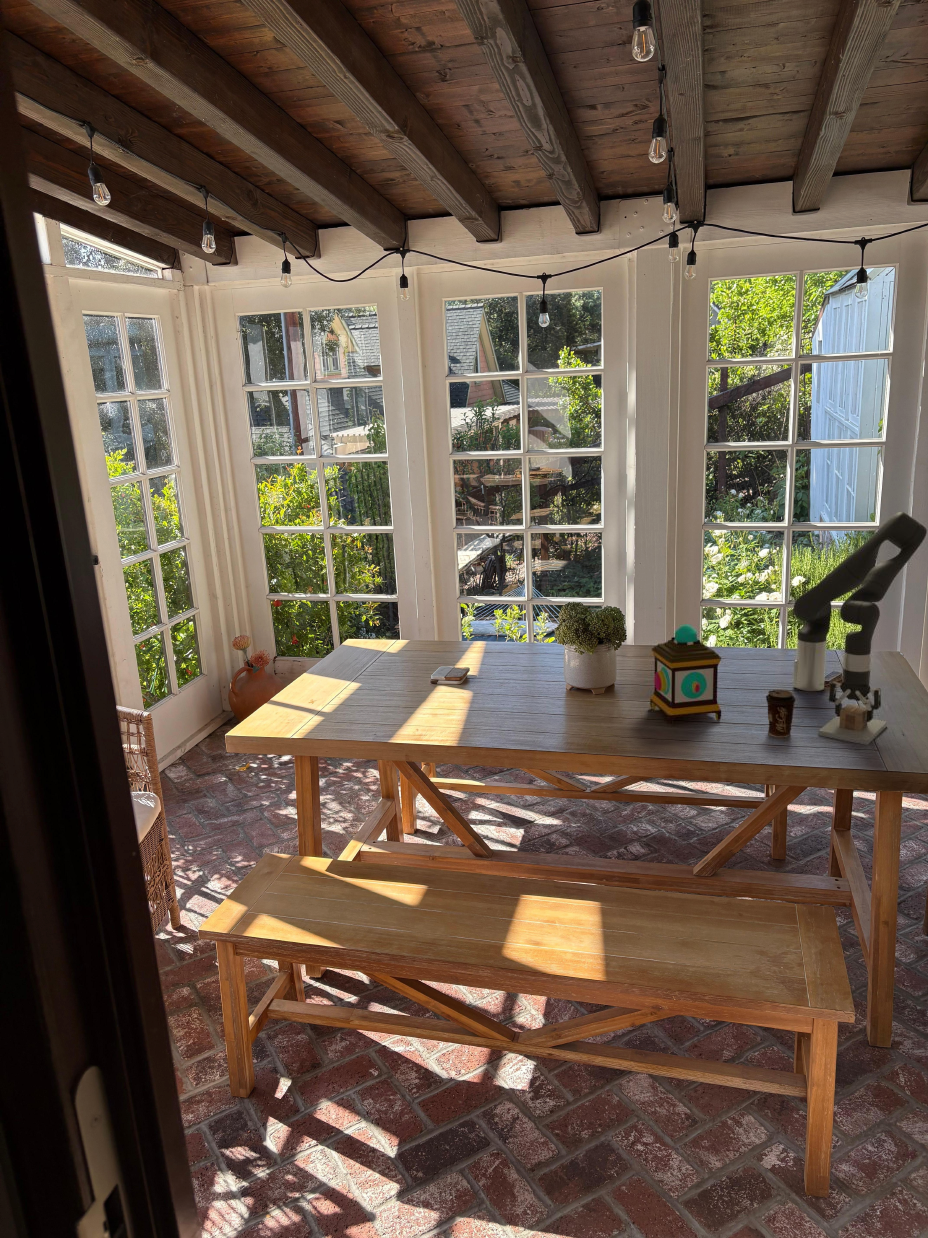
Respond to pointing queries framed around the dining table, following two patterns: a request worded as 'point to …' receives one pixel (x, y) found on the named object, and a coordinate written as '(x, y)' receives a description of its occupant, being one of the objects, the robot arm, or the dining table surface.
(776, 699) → the coffee cup
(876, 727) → the base plate
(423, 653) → the dining table surface
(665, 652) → the decorative lantern
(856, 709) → the cardboard box
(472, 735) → the dining table surface
